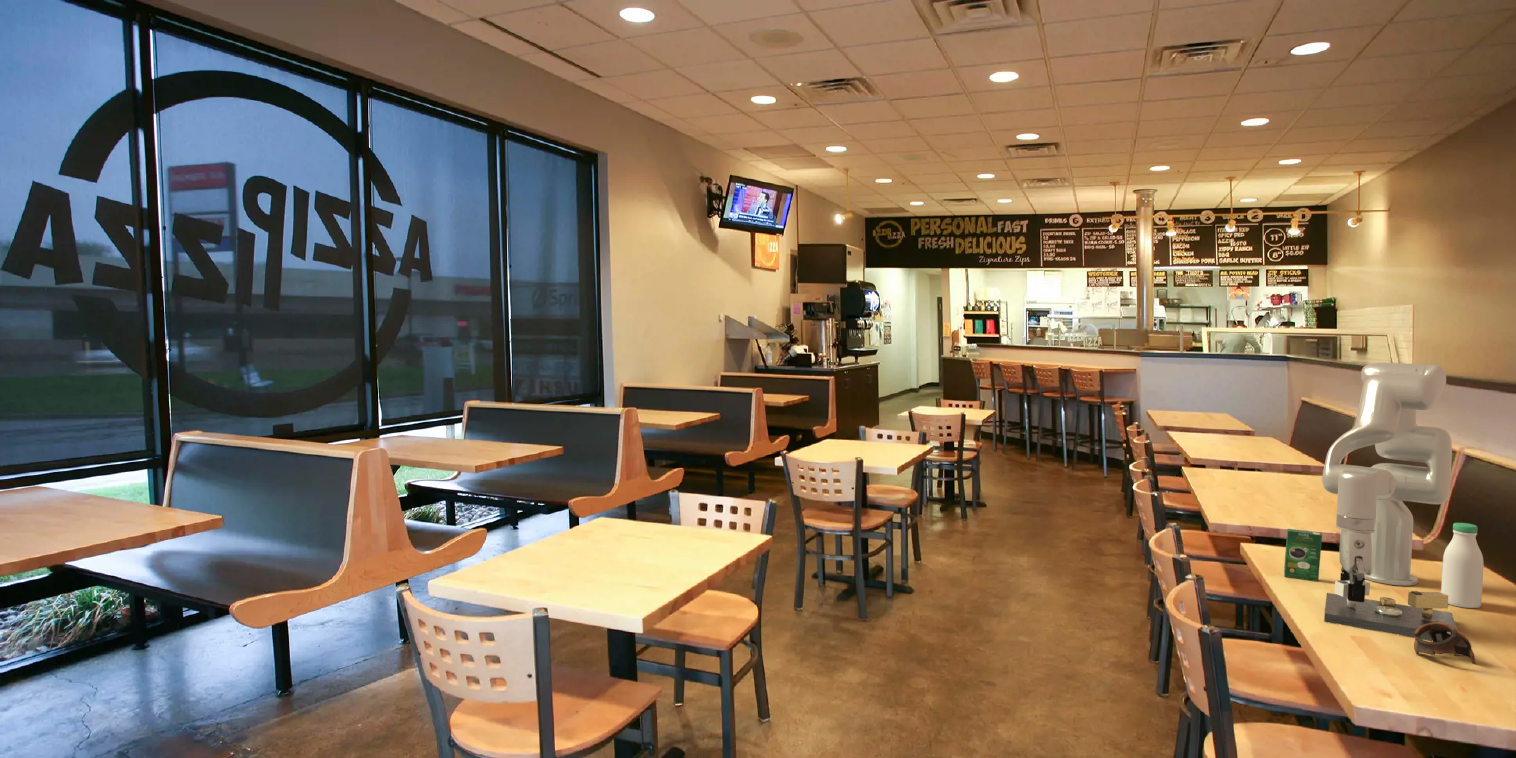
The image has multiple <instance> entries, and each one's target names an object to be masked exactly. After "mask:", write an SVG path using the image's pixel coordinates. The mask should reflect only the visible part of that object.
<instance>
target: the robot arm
mask: <svg viewBox="0 0 1516 758" xmlns="http://www.w3.org/2000/svg"><path fill="white" fill-rule="evenodd" d="M1442 367H1443V366H1442ZM1442 367H1441V366H1440V365H1437V364H1430V363H1428V364H1427V363H1403V362H1375V363H1374V362H1373V363H1369V364H1366V365H1365V366H1363V367H1362V369H1361V372H1360V377H1361V382H1362V390H1361V394H1360V398H1359V399H1360V400H1359V404H1358V409H1357V414H1356V419H1355V424H1354V425H1353V428H1351V429H1349V430H1348V431H1346V432H1344V433H1343V434H1342V435H1341V436H1339V437H1338V438H1337V439H1335V441H1334V442H1333V443H1332V445H1330V447H1329V448H1328V451H1327V453H1326V457H1325V461H1324V466H1323V470H1322V478H1321V481H1322V486H1323V488H1324V489H1325V491H1327V492H1329V493H1330V494H1333V495H1337V499H1336V500H1337V501H1336V515H1335V516H1336V517H1335V519H1336V520H1335V527H1336V529H1339V530H1340V535H1339V537H1340V538H1339V558H1338V559H1339V563H1340V565H1341V568H1340V580H1344V581H1349V580H1350V583H1348V597H1347V599H1348V600H1349V601H1355V602H1364V601H1365V599H1366V596H1365V581H1366V580H1368V581H1372V582H1375V583H1381V584H1386V585H1392V586H1402V587H1403V586H1404V587H1407V586H1409V587H1410V586H1416V585H1417V584H1418V578H1417V577H1416V576H1414V575H1412V574H1411V570H1412V568H1411V566H1412V551H1413V549H1412V548H1413V532H1414V516H1413V514H1412V512H1411V511H1410V509H1409V508H1408V506H1407V505H1405V503H1404V502H1413V503H1421V504H1429V505H1442V504H1445V503H1446V502H1447V501H1448V500H1449V497H1450V494H1451V486H1452V485H1451V484H1452V483H1451V482H1452V459H1453V443H1452V438H1451V436H1450V435H1451V434H1450V433H1449V432H1448V431H1447V430H1446V429H1444V428H1441V427H1435V426H1426V425H1418V424H1417V421H1416V420H1417V411H1426V410H1427V411H1428V410H1431V409H1432V408H1433V407H1434V406H1436V404H1437V402H1438V400H1439V399H1440V398H1441V396H1442V394H1443V392H1444V391H1445V388H1446V385H1447V374H1446V372H1445V370H1444V368H1442ZM1373 445H1374V447H1375V451H1376V452H1375V453H1376V454H1377V455H1378V456H1380V457H1381V458H1385V459H1390V460H1397V461H1407V462H1414V463H1415V462H1416V463H1424V464H1426V465H1427V466H1419V465H1410V464H1401V463H1390V462H1385V463H1384V462H1383V463H1382V462H1380V463H1376V464H1373V465H1372V466H1370V467H1368V466H1362V465H1354V464H1353V465H1352V464H1346V463H1345V464H1342V461H1343V459H1344V458H1345V457H1346V456H1347V455H1348V454H1350V453H1352V452H1353V451H1356V450H1358V449H1361V448H1365V447H1369V446H1373Z"/></svg>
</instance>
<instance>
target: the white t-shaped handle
mask: <svg viewBox="0 0 1516 758" xmlns="http://www.w3.org/2000/svg"><path fill="white" fill-rule="evenodd" d="M1348 583H1350V580H1349V581H1344V580H1335V581H1334V594H1337V595H1340V596H1342V597H1348ZM1370 585H1371V582H1369V581H1366V580H1365V597H1366V596H1370V587H1371V586H1370ZM1347 606H1351V607H1356V602H1355V601H1349V600H1348V599H1347Z"/></svg>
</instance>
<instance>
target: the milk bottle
mask: <svg viewBox="0 0 1516 758" xmlns="http://www.w3.org/2000/svg"><path fill="white" fill-rule="evenodd" d="M1452 532H1453V536H1452V539H1451V540H1450V542H1449V544H1447V546H1446V547H1445V550H1444V552H1443V556H1442V566H1441V568H1442V569H1441V580H1440V592H1441V593H1443V594H1446V595H1448V605H1450V606H1455V607H1459V608H1463V609H1464V608H1465V609H1479V608H1480V607H1481V606H1482V599H1483V585H1484V584H1483V581H1484V556H1483V553H1482V551H1481V549H1480V547H1479V545H1478V542H1477V539H1476V537H1477V536H1478V526H1477V525H1476V524H1472V523H1467V522H1454V523H1453V525H1452Z"/></svg>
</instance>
